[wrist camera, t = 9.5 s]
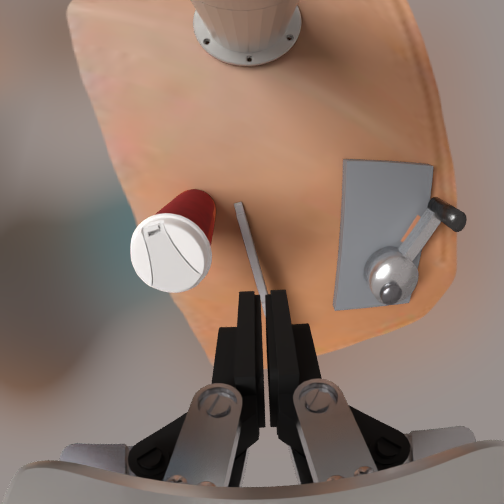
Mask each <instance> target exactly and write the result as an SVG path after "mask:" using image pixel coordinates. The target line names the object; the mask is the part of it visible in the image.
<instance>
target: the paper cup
mask: <svg viewBox="0 0 504 504" xmlns="http://www.w3.org/2000/svg"><path fill="white" fill-rule="evenodd" d="M215 216H216V207H215V204H214V201H213V199H212V198H211V197H210V196H209V195H208V194H207V193H205V192H204V191H201V190H197V189H191V190H187V191H185V192H183V193H181V194H180V195H178V196H177V197H176V198H174V199H173V200H172V201H171V202H170V203H168V204H167V205H166V206H165V207H164V208H162V209H161V210H160V211H159V212H157V213H156V214H155V215H153V216H151V217H148V218H147V219H145V220H144V221H142V222H141V223H140V224H139V225H138V227H137V228H136V230H135V232H134V234H133V236H132V239H131V260H132V264H133V267H134V269H135V271H136V273H137V274H138V276H139V277H140V278H141V279H142V280H143V281H144V282H145V283H146V284H148V285H149V286H151V287H153V288H155V289H158V290H161V291H164V292H175V293H178V292H184V291H187V290H189V289H191V288H194V287H196V286H197V285H198V284H199V283H200V282H201V281H202V280H203V278H204V277H205V276H206V275H207V273H208V271H209V269H210V266H211V261H212V252H211V247H210V246H211V241H212V235H213V229H214V223H215Z"/></svg>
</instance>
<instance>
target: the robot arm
mask: <svg viewBox="0 0 504 504" xmlns="http://www.w3.org/2000/svg"><path fill="white" fill-rule="evenodd" d="M191 2H192V4H193V5H194V7H195V9H196V10H195V13H194V18H193V28H194V33H195V35H196V38H197V40H198V42H199V43H200V45H201V46H202V47H203V48H204V50H205V51H206V52H207V53H209V54H210V55H211V56H213V57H214V58H216V59H218V60H220V61H222V62H225V63H228V64H231V65H237V66H257V65H263V64H266V63H269V62H272V61H274V60H276V59H278V58H279V57H281V56H282V55H284V54H285V53H286V52H288V51H289V49H290V48H291V47H292V46H293V45H294V43H295V42H296V40H297V38H298V36H299V33H300V30H301V23H302V22H301V14H300V11H299V8H298V6H297V4H298V2H299V0H191ZM287 38H291V40H290V41H289V40H287ZM206 42H210V43H209V44H208V45H206ZM249 58H250V59H252V61H251V62H248V61H247V59H249ZM265 310H266V343H267V366H268V386H269V404H270V405H269V406H270V426H271V427H277V435H278V438H279V439H280V440H282V441H283V442H284V443H286V444H287V445H288V448H289V452H290V456H291V460H292V463H293V467H294V470H295V474H296V478H297V481H298V485H290V486H276V487H242V484H243V479H244V473H245V469H246V464H247V459H248V454H249V447H250V446H251V445H252V444H254V443H255V442H256V441H257V440H258V439H259V428H261V427H265V402H264V374H263V348H262V323H261V300H260V295H255V294H254V291H245V292H239V305H238V320H237V327H220V328H219V332H218V339H217V346H216V354H215V362H214V369H213V377H212V384H210V385H207V386H205V387H203V388H201V389H200V390H199V391H197V392H196V393H195V395H194V397H193V399H192V402H191V404H190V407H189V410H188V412H187V413H185V414H184V415H182V416H181V417H179V418H178V419H176V420H175V421H173V422H171V423H170V424H168V425H167V426H165V427H163V428H162V429H160V430H158V431H157V432H155V433H153V434H152V435H150V436H149V437H147V438H145V439H143V440H142V441H140V442H138V443H137V444H136V445H134V446H126V444H82V443H75V444H70V445H69V446H66V447H65V448H64V450H63V451H62V453H61V456H60V461H57V460H55V461H54V460H45V461H37V462H32V463H28V464H26V465H24V466H23V467H21V468H20V469H19V470H18V471H17V473H16V474H15V476H14V477H13V479H12V481H11V483H10V485H9V486H8V489H7V491H6V494H5V496H4V499H3V502H2V504H504V441H502V440H484V441H477V442H476V439H475V436H474V434H473V432H472V431H471V430H470V429H469V428H466V427H464V426H456V427H448V428H440V429H430V430H419V431H411V432H410V433H409V434H403V433H401V432H400V431H398V430H396V429H394V428H392V427H390V426H388V425H386V424H384V423H382V422H380V421H378V420H376V419H374V418H372V417H370V416H368V415H366V414H364V413H362V412H360V411H359V410H357V409H355V408H353V407H351V406H349V405H348V403H347V401H346V399H345V397H344V395H343V392H342V391H341V389H340V388H339V387H338V386H337V385H336V384H334V383H333V382H331V381H328V380H326V379H321V374H320V370H319V365H318V361H317V356H316V352H315V347H314V343H313V339H312V335H311V330H310V326H309V324H308V323H307V324H291V318H290V312H289V306H288V300H287V295H286V290H271V294H267V295H265Z"/></svg>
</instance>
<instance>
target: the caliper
mask: <svg viewBox="0 0 504 504" xmlns="http://www.w3.org/2000/svg"><path fill="white" fill-rule="evenodd" d="M234 207H235V210H236V216H237V219H238V223H239V226H240V230H241V233H242V237H243V240H244V243H245V247H246V250H247V254H248V257H249V261H250V264H251V268H252V271H253V274H254V278H255V281H256V285H257V288H258V292H259V295H260V298H261V302H262V307H263V310H264V314H265V317H266V310H265V295H267V294H268V292H267V289H266V285H265V282H264V278H263V275H262V271H261V267H260V264H259V260H258V257H257V253H256V250H255V246H254V242H253V239H252V235H251V232H250V228H249V225H248V221H247V218H246V215H245V211H244V209H243V205H242V202H238V203H235V204H234Z"/></svg>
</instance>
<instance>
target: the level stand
mask: <svg viewBox="0 0 504 504" xmlns="http://www.w3.org/2000/svg"><path fill="white" fill-rule="evenodd" d="M432 177H433V166H432V165H429V164H423V163H411V162H398V161H383V160H362V159H343V183H342V206H341V223H340V238H339V250H338V261H337V272H336V281H335V290H334V299H333V307H334V309H335V311H337V310H348V309H359V308H368V307H378V306H387V305H386V304H382V303H380V302H379V301H378V300H377V299H376V298H375V296H374V295H373V293H372V291H371V290H370V288H369V286H368V285H367V283H366V281H365V279H364V267H365V264H366V262H367V260H368V259H369V257H370V256H371V255H372V254H373V253H374V252H375V251H377V250H378V249H380V248H383V247H387V246H393V247H397V248H399V247H400V246H401V244H402V243H403V242H404V240H405V239H406V238H407V236H408V235H409V234H410V232H411V231H412V229H413V228H414V227H415V225H416V224H417V222H418V221H419V219H420V218H421V217H422V215H423V214H424V212H425V211H426V209H427V206H428V203H429V201H430V195H431V187H432ZM421 251H422V249H421V250H420V252H419V253H418V254H417V256H416V257H415V258H414V260H413V261H412V262H413V263H414V264H415V266H416V267H417V269H418V265H419V260H420V256H421ZM411 294H412V293H411ZM411 294H410V295H409V296H408V297H407V298H406V299H404V300H403V301H401V302H399V303H396V304H403V303H409V301H410V297H411ZM392 305H395V304H392Z"/></svg>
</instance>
